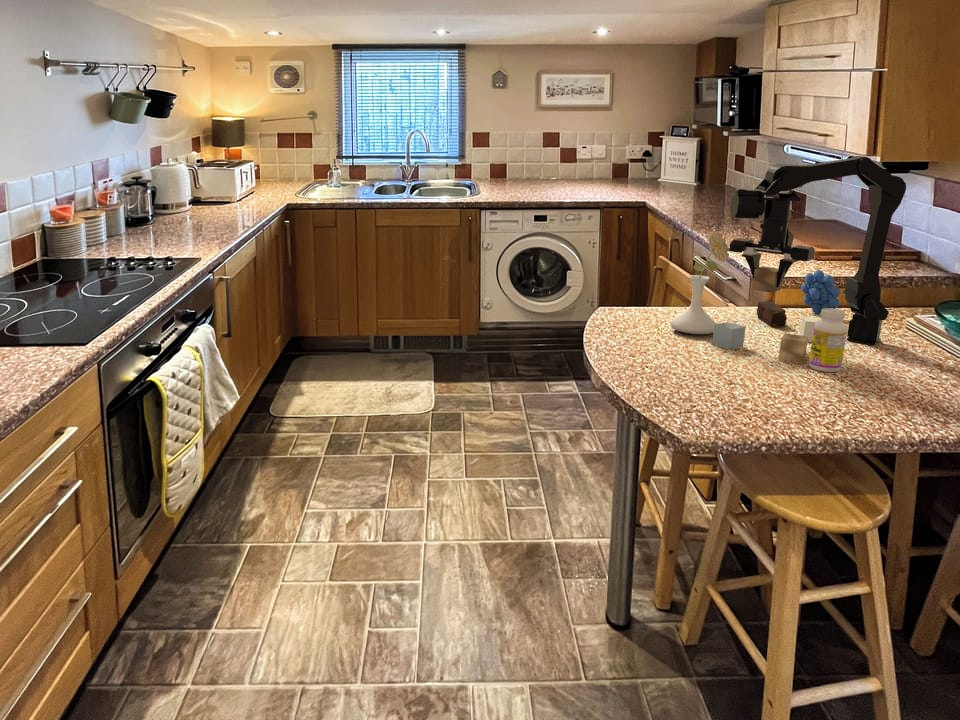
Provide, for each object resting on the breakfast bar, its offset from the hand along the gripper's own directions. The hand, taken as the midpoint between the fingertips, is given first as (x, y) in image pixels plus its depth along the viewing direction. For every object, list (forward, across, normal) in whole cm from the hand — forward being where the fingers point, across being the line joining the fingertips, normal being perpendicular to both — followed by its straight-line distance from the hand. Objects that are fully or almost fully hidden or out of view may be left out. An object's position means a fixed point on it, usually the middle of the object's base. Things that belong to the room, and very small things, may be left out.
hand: (766, 285), depth 210 cm
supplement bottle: (+13, -20, +16) cm, 29 cm away
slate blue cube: (+13, +3, +13) cm, 19 cm away
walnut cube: (+1, 0, 0) cm, 1 cm away
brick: (+13, +4, -18) cm, 23 cm away
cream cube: (+13, -10, -8) cm, 18 cm away
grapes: (+13, -2, -37) cm, 39 cm away
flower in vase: (+13, +14, +6) cm, 20 cm away
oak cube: (+13, -12, +13) cm, 22 cm away
